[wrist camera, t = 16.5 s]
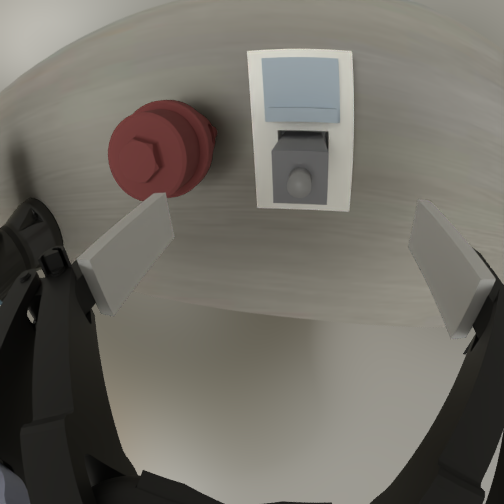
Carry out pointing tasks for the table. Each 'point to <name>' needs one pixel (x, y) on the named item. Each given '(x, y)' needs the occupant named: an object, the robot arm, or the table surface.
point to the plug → (300, 168)
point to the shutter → (301, 89)
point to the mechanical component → (161, 150)
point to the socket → (333, 133)
